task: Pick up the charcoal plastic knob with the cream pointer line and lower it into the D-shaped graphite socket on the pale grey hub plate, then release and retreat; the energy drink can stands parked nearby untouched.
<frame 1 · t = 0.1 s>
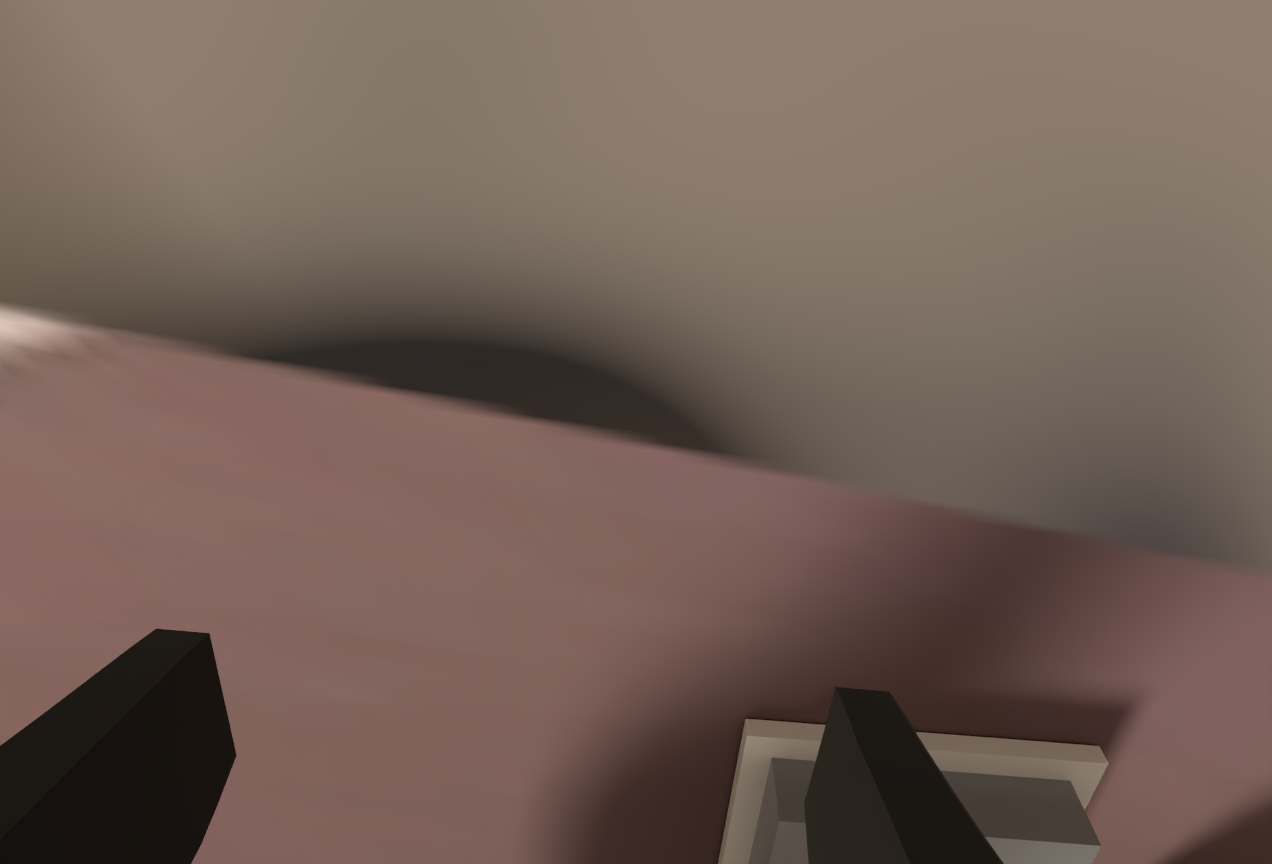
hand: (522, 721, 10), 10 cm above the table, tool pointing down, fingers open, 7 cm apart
hub plate: (884, 843, 27), on the table
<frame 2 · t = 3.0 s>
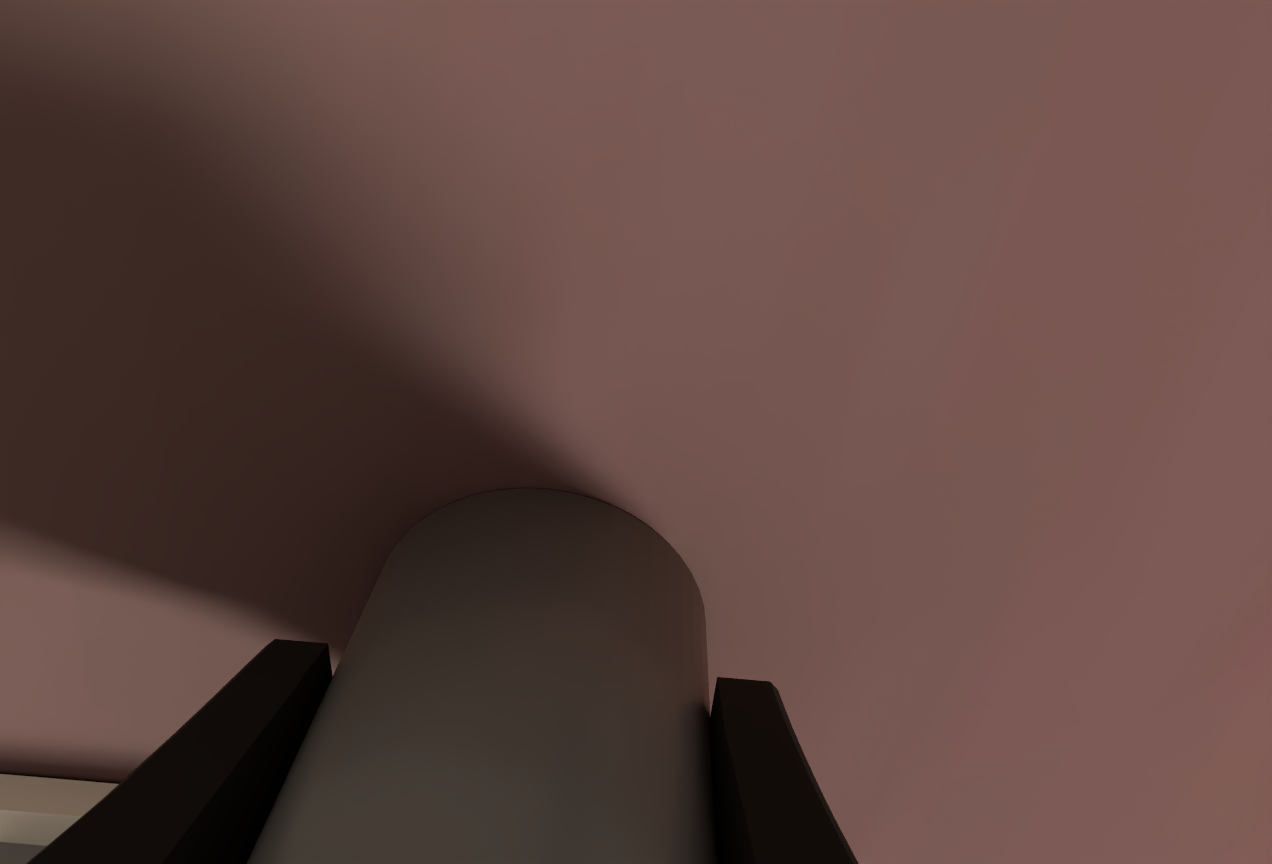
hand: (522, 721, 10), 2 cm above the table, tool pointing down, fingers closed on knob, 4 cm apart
knob: (540, 625, 12), on the table, touching gripper
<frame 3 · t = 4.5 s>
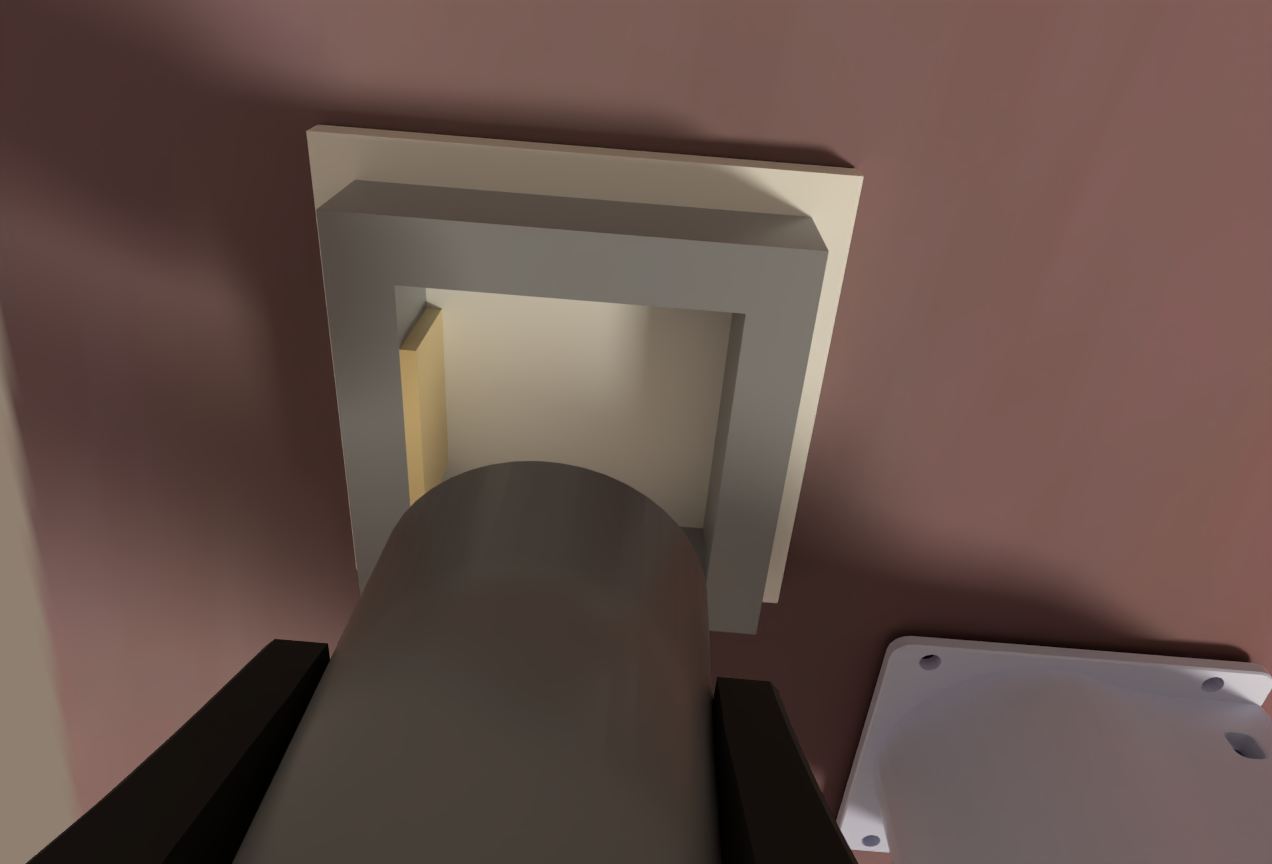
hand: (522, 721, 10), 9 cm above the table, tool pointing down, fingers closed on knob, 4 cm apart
knob: (543, 600, 12), point 8 cm above the table, touching gripper
hub plate: (577, 387, 18), on the table
when the fingers open (4 cm above the table, at t = 6.1 s): knob drops 1 cm, resting on hub plate.
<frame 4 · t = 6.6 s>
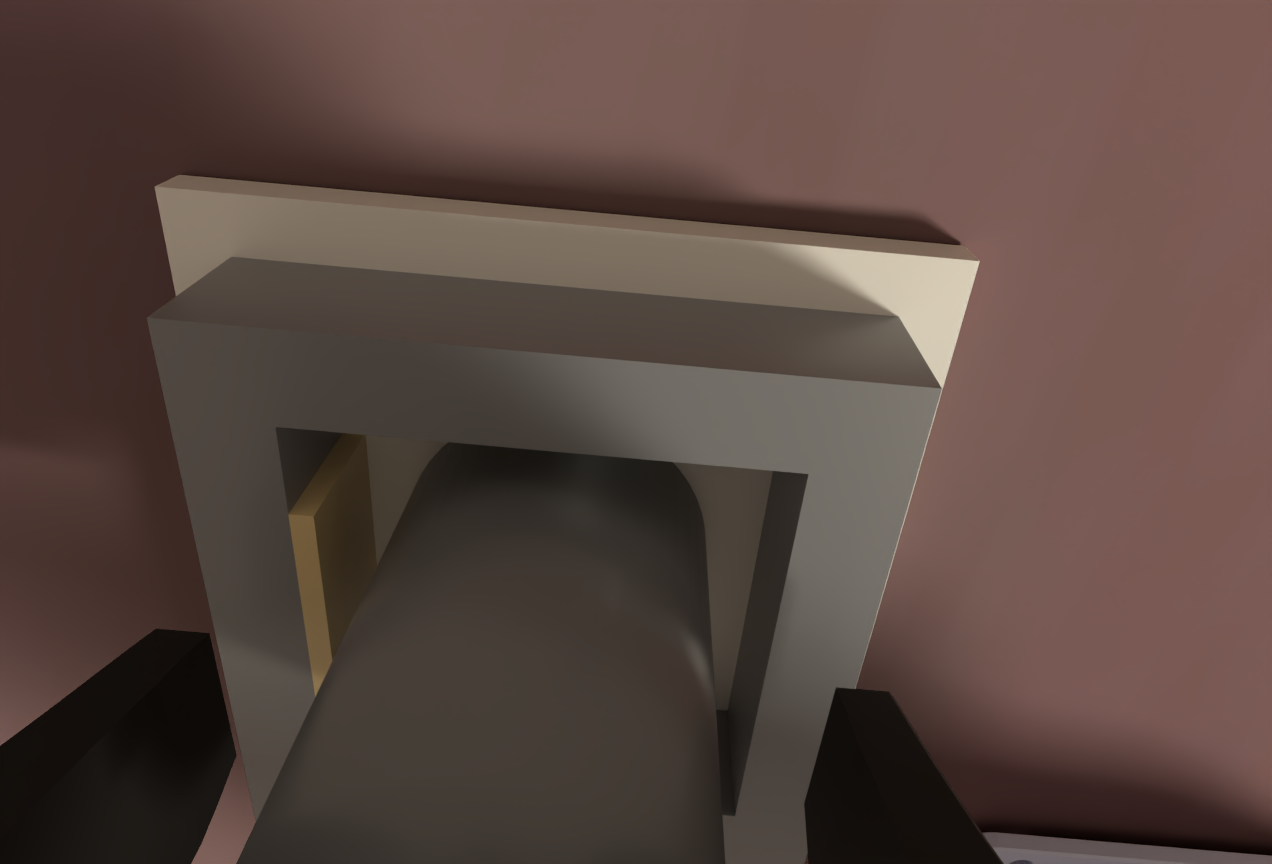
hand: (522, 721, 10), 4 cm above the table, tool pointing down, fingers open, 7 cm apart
knob: (556, 541, 13), point 1 cm above the table, touching hub plate
hub plate: (559, 528, 13), on the table
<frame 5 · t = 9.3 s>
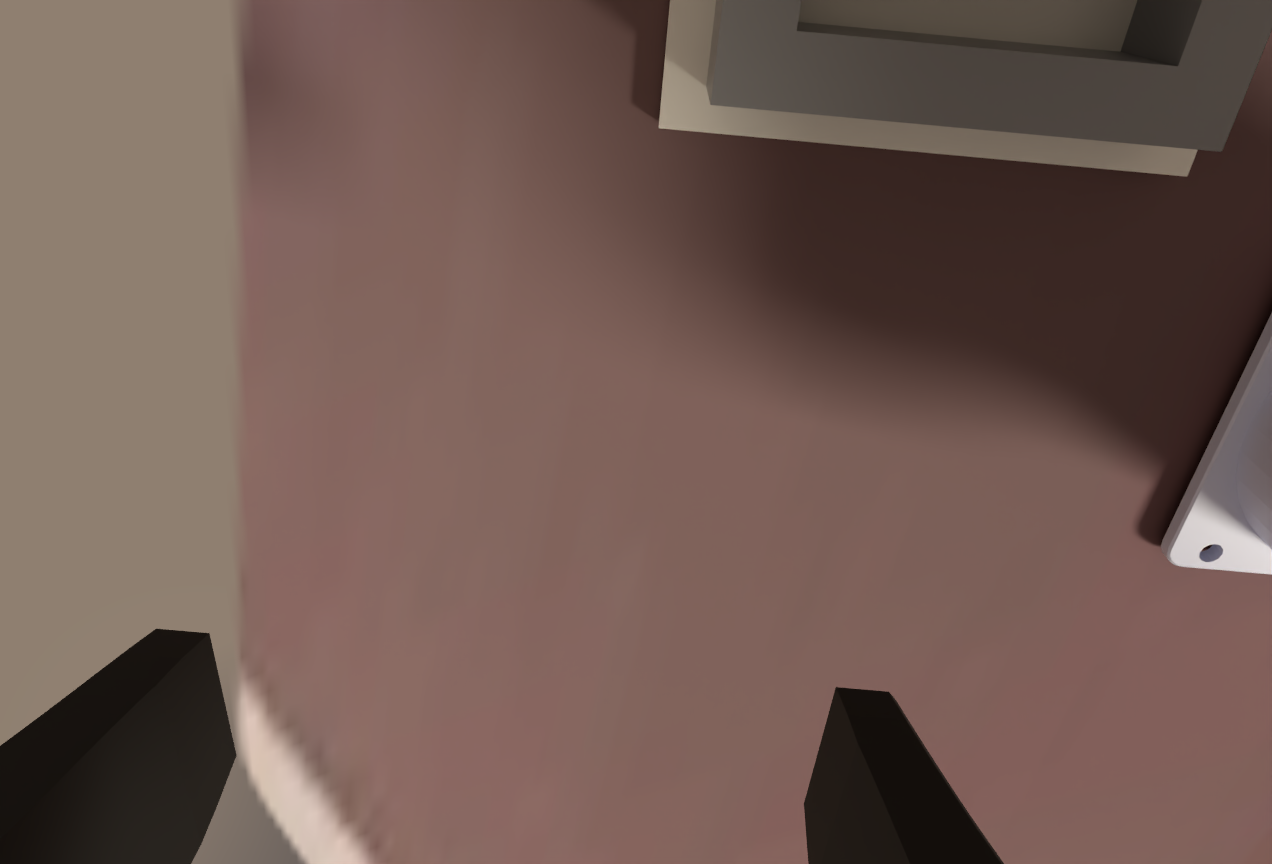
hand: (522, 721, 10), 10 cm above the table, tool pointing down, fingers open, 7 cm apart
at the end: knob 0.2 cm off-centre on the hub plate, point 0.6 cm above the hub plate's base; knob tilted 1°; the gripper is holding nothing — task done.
